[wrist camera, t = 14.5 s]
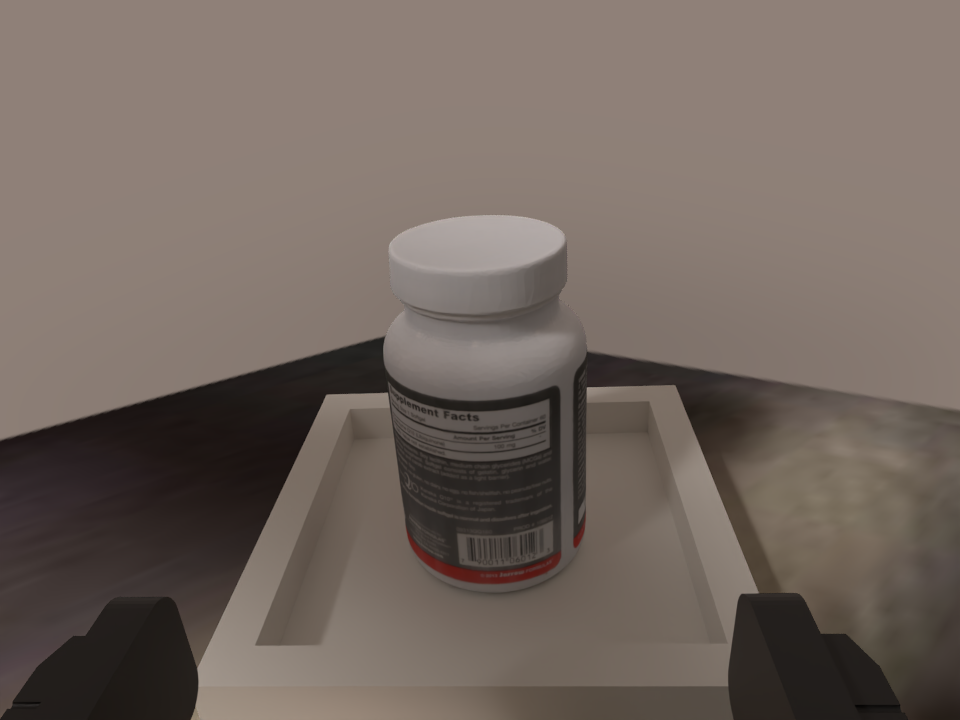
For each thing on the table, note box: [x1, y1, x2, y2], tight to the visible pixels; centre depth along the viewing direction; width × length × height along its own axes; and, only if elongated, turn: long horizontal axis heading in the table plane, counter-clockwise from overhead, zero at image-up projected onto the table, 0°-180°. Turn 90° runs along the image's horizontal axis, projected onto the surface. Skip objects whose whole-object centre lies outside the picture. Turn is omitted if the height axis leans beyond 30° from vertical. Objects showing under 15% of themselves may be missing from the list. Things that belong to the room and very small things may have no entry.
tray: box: [196, 385, 759, 720], centre depth 23 cm, size 14×14×2 cm
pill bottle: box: [383, 215, 587, 593], centre depth 21 cm, size 6×6×10 cm
